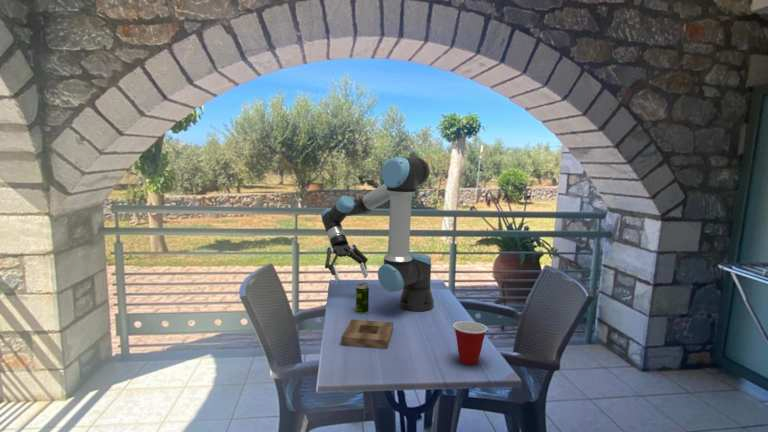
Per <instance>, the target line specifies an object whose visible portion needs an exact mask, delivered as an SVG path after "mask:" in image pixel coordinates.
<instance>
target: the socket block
mask: <svg viewBox="0 0 768 432" xmlns="http://www.w3.org/2000/svg"><path fill="white" fill-rule="evenodd" d="M393 332H394V322H393V321H380V320H379V321H378V320H367V319H366V320H364V319H363V320H362V319H350V321H349V323H348V325H347V327H346V328H345V330H344V332H343V333H342V335H341V340H340V342H341V346H346V347H348V346H349V347H359V348H360V347H361V348H370V349H371V348H374V349H386V350H388V347H389V344H390V341H391V338H392V335H393Z"/></svg>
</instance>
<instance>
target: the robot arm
mask: <svg viewBox="0 0 768 432" xmlns="http://www.w3.org/2000/svg"><path fill="white" fill-rule="evenodd" d="M430 171H431V170H430V166H429V164H428V163H427V161H425V159H422V158H420V157H416V156H415V157H413V156H412V157H409V156H408V157H407V156H396V157H391V158H389V159H388V160H387V161H386V162H385V163H384V164H383V166H382V168H381V180H382V182H383V184H381V185H380V186H378V187H376V188H374V189H373V190H371V191H369V192H368V193H366V194H364V195H363V196H361V197H359V198H356V199H355V198H352V197H350V196H348V195H342V196H340V197H339V199H337V201H336V202H335V203H334V205H333V206H332V207H328V208H325V210H322V211H321V214H320V216H321V217H320V218H321V221H322V224H323V226H324V229H325V232H326V234H327V237H328V240H329V243H330V246H331V247H327V249H326V260H325V265H324V269H328V271H330V273H331V276H333V277H334V280H335V283H338V282H340V280H341V278H340V275H339V272H338V270H337V266H335V264H336V261H337V260H338V257H339V258H342V257H348V258H350V259H352V260H354V261H355V262H357V263H358V264H359V267H360V271H361V274H362V275H363V278H364V279H366V278H368V276H369V273H368V271H367V269H368V268H367V265H366V264H367V262H368V261H369V259H368V258H367V257H366V255H364V254H363V253H362V252H361V250H359V249H358V247H357V246H356V244H352V245H350V244H349V241H348V239H347V236H346V233H345V232H344V229H343V226H342V222H343V221H344V220H345V219H346V218H347V217H352V216H360V215H367V214H371V213H372V212H373V211H374V209H376V208H378V207H379V206H380V205H382V204H384V203H386V202H388V201H389V219H388V221H389V223H388V241H387V243H388V244H387V247H388V248H387V254H384V257H383V264H381V265H380V267H379V268H378V270H377V277H378V278H377V279H378V282H379V284H380V285H381V286H382V288H383V289H384V290H385V291H388V292H391V293H394V292H400V291H402V292H401V294H400V297H399V303H398V304H399V307H400V308H401V309H403V310H407V311H411V312H427V311H429V310H432V309H433V308H434V306H435V305H434V304H435V302H434V301H435V300H434V297H433V294H432V291H431V278H432V277H431V275H432V259H431V256H429V255H426V254H422V253H415V252H410V242H411V241H410V240H411V239H410V238H411V237H410V236H411V219H412V218H411V216H412V199H413V195H414V194H415V193H416V192H417V188H418V187H420V186H422V185H424V184H425V183H426V182H427V181H428V179H429V177H430V173H431V172H430ZM332 253H334V254H335V255H334V257H333V259H332V260H331V257H332ZM330 262H331V263H330Z"/></svg>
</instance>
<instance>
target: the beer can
mask: <svg viewBox="0 0 768 432" xmlns="http://www.w3.org/2000/svg"><path fill="white" fill-rule="evenodd" d="M369 290H370V286H369V284H368V283H366V282H358V283H356V286H355V312H356V314H358V315H366V314H368V313H369V309H370V308H369V307H370V304H369V301H370V293H369V292H370V291H369Z"/></svg>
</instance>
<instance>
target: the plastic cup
mask: <svg viewBox="0 0 768 432" xmlns="http://www.w3.org/2000/svg"><path fill="white" fill-rule="evenodd" d="M453 329H454V330H455V331H454V332H455V337H456V346H457V351H458V358H459V359H458V360H459V362H460V363H462V364H463V365H466V366H475V365H477V364H478V363H479V360H480V355H481V353H482V347H483V342H484V339H485V336H486V333H487V331H488V326H487V325H485V324H483V323H481V322H475V321H467V320H466V321H463V320H462V321H456V322H454V323H453Z"/></svg>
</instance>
